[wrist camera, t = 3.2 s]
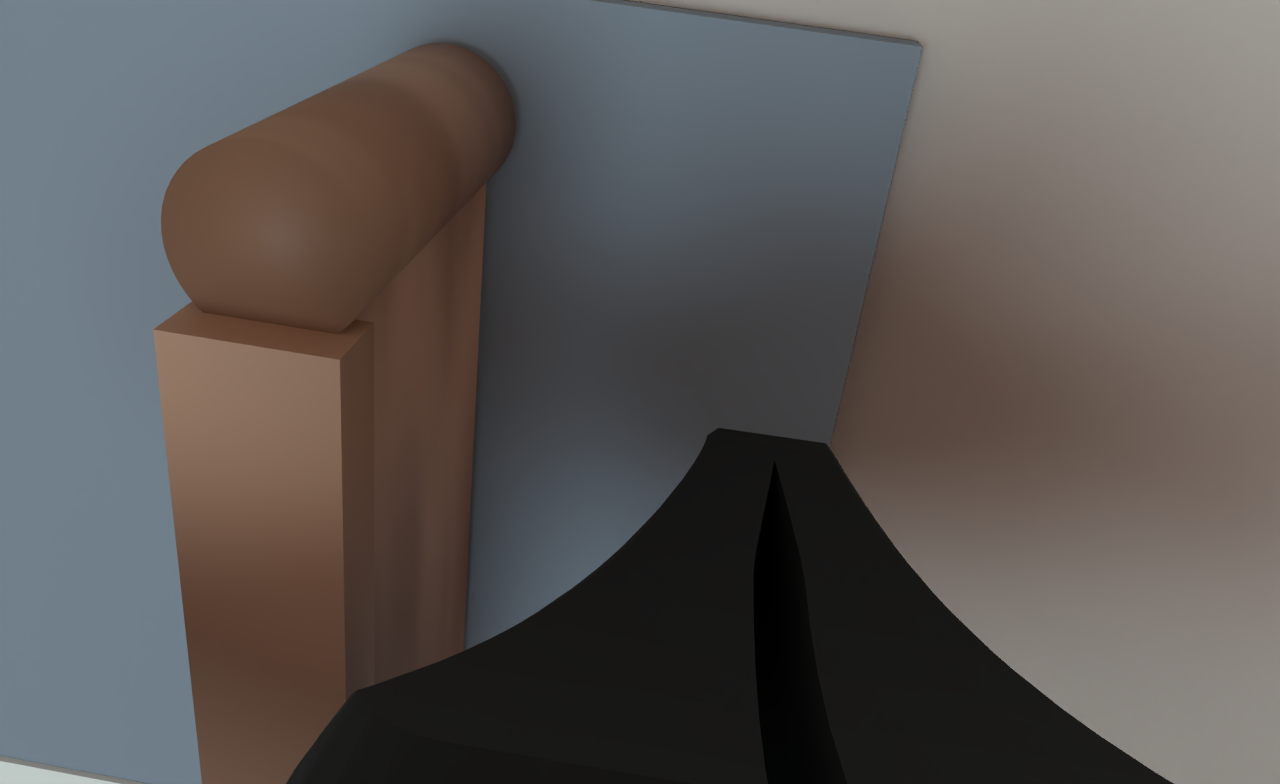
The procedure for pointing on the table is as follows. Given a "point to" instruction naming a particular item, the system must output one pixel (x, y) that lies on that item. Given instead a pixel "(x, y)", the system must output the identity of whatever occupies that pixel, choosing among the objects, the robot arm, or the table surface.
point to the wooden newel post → (326, 396)
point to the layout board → (509, 310)
